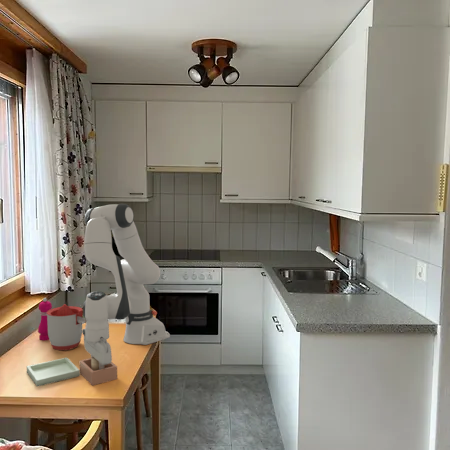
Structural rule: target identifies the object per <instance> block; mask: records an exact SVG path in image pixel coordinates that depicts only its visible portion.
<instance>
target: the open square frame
mask: <svg viewBox="0 0 450 450" xmlns="http://www.w3.org/2000/svg"><path fill="white" fill-rule="evenodd" d="M78 363H79V370H80V375H81V376H82V377H83V378H84V379H85V380H86V381H87V382H88V383H89V384H90V386H95V385H96V386H97V385H100V384H103V383H107V382H111V381H115V380H117V379H118V366H117V365H116V363H114V362H113V361H111V363H110V364H107V365H105V368H104V369H100V370H96V371H93V370H92V368H91V357H90V358H86V359H85V358H84V359H81V360H79V362H78Z"/></svg>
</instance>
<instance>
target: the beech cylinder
mask: <svg viewBox="0 0 450 450" xmlns="http://www.w3.org/2000/svg"><path fill="white" fill-rule="evenodd" d="M98 366H99V361H97V360H96V359H95V358H94V357H93V358H92V359H91V368H92V370H93V371H96V370H98ZM104 368H105V365H104Z"/></svg>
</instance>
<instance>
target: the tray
mask: <svg viewBox="0 0 450 450" xmlns="http://www.w3.org/2000/svg"><path fill="white" fill-rule="evenodd" d="M26 373H27V375H28V376H29V378H30V379H31V380H32V382H33V383H34V384H35V386H36V387H41V386H45V385H49V384H53V383H57V382H60V381H64V380H65V381H66V380H69V379H72V378H73V379H74V378H77V377H80V375H81V374H80V368H78V367H77V366H76V365H75V364H74V363H73V362H72V361H71V359H69V358H68V357H63V358H59V359H53V360H48V361H43V362H40V363H35V364H31V365H26Z"/></svg>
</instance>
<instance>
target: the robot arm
mask: <svg viewBox="0 0 450 450" xmlns="http://www.w3.org/2000/svg"><path fill="white" fill-rule="evenodd" d="M134 218H135V213H134V210H133V208H132V207H131V206H130V205H128V203H127V204H126V203H119V204H117V203H115V204H114V203H113V204H106V205H102V206H98V207H97V206H94V207H91V208H89V209H88V210H86V212H85V215H84V224H85V232H84V242H83V243H84V245H83V246H84V256H85V258H86V260H87V261H88V262H89V263H90V264H92V265H94V266H97V267H100V268H103V269H106V270H107V271H109V272H111V274H112V275H113V276H114V282H115V287H116V292H117V293H116V294H113V295H111V294H110V295H107V293H106V292H104V291H100V290H98V291H96V290H95V291H92V292H89V293H88V294H87V295H86V298H85V300H84V302H83V303H82V304H83V305H82V310H83V318H84V319H85V320H86V322H85V327H84V328H82V335H83V344H84V346H83V347H84V350H85V351H86V352H87V353H88V354H90V358H91V359H92V358H93V357H94V358H95V359H96V360H97V361H99V366H98V370H100V369H104V365H107V364H110V363H111V362H113V360H112V359H113V358H112V357H113V355H112V348H111V344H110V343H109V342H108V341H107V340H108V339H109V338H110V324H109V321H108V320H125V332H124V335H123V341H124V343H127V344H130V345H132V344H133V345H142V346H143V345H146V346H147V345H150V344H154V343H156V342H159V341H160V342H161V341H163V340H166V339H169V338H171V334H170V333H169V332H168V331H166V327H165V325H164V323H163V322H162V321H160V320H159V319H158V318H156V317H154V316H157V314H158V311H156V310H153V309H151V308H150V305H151V304H150V294H149V292H148V290H147V289H146V287H145V285H154V284H156V283H157V282H158V281H159V279H160V276H161V269H160V266H158V265H157V264H156V263H155V262H154V261H153V260H152V258H150V256H149V254H148V253H147V252H146V250H145V248H144V246H143V243H142V241H141V238H140V236H139V235H140V234H139V232H138V228H137V226H136V223H135V222H134ZM112 236H113V238H112ZM113 239H114V243H115V245H116V247H117V251H118V254H119V255H120V256H121V257H122V258H123V259H121V258H120V256H118V255H116V254H115V252H114V250H113Z"/></svg>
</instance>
